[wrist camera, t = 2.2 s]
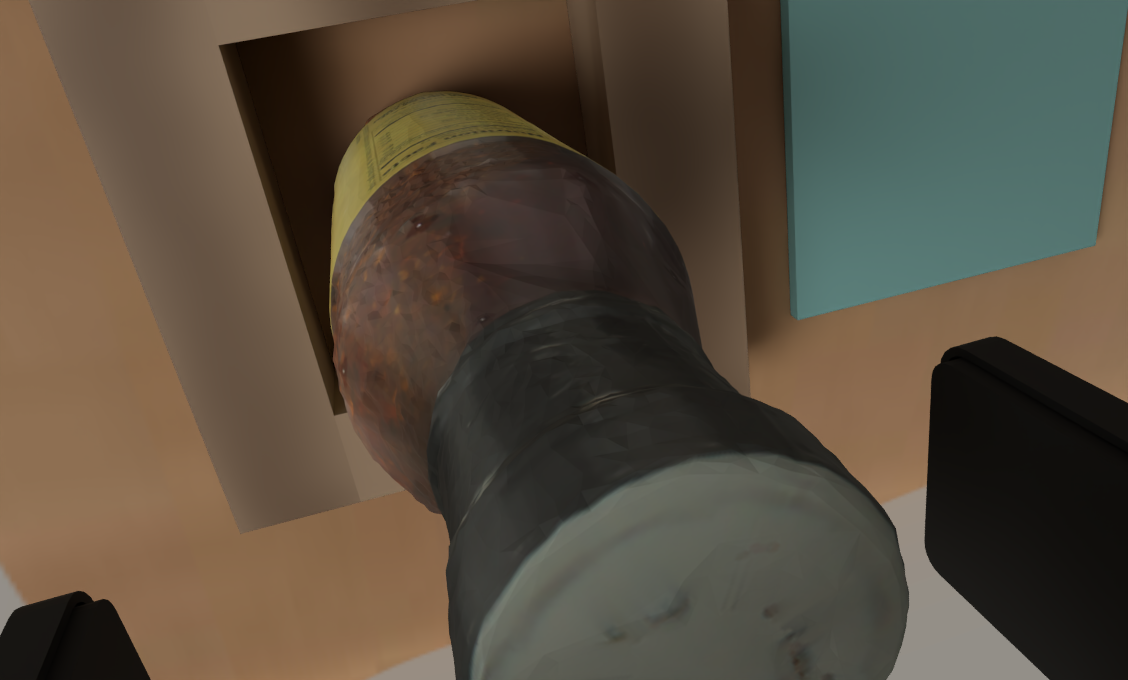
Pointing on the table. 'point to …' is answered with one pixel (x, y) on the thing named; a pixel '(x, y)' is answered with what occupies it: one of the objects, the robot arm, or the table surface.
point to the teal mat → (941, 139)
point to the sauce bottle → (585, 423)
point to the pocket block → (262, 229)
